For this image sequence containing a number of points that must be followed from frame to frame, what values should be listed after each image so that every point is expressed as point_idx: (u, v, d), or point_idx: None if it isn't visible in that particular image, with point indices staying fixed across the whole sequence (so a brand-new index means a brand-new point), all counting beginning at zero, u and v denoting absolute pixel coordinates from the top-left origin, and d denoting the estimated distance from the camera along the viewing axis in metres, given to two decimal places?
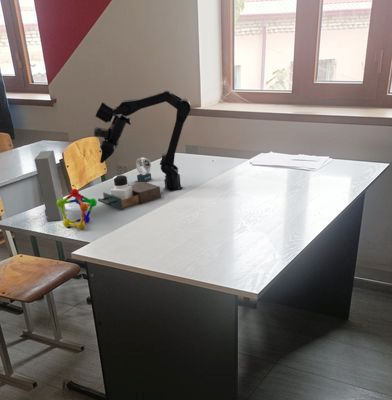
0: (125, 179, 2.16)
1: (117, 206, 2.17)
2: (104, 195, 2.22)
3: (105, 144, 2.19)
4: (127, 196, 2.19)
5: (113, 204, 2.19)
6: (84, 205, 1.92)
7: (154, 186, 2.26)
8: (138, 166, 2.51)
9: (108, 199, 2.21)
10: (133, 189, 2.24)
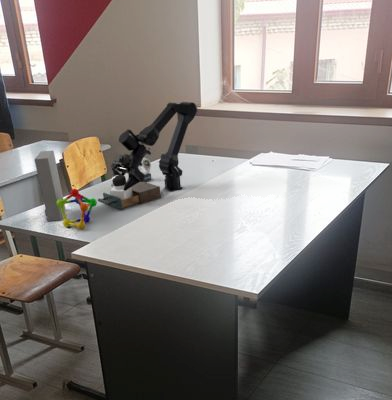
0: (123, 179, 2.15)
1: (116, 206, 2.17)
2: (104, 195, 2.22)
3: (139, 171, 2.12)
4: (126, 196, 2.18)
5: (113, 204, 2.19)
6: (84, 205, 1.92)
7: (154, 186, 2.26)
8: None
9: (108, 199, 2.21)
10: (133, 189, 2.24)
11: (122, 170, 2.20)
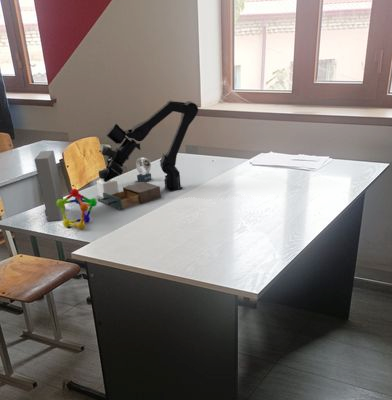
0: None
1: (116, 206, 2.17)
2: (104, 195, 2.22)
3: (115, 165, 2.19)
4: (106, 190, 2.29)
5: (113, 204, 2.19)
6: (84, 205, 1.92)
7: (154, 186, 2.26)
8: (138, 166, 2.51)
9: (108, 199, 2.20)
10: (133, 189, 2.24)
11: None
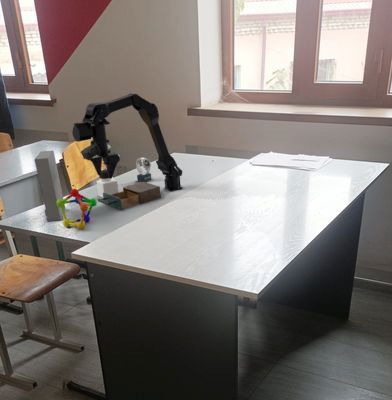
0: (107, 173, 2.26)
1: (116, 206, 2.17)
2: (104, 195, 2.22)
3: (111, 157, 2.01)
4: (107, 189, 2.29)
5: (113, 204, 2.19)
6: (84, 205, 1.92)
7: (154, 186, 2.26)
8: (138, 166, 2.51)
9: (108, 199, 2.20)
10: (133, 189, 2.24)
11: (96, 155, 2.10)
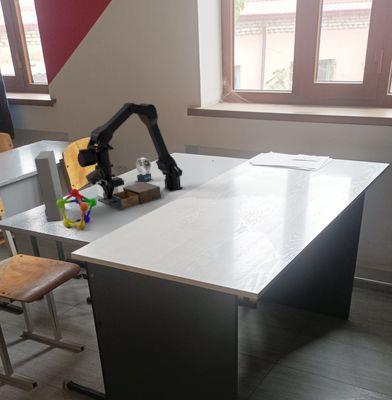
0: None
1: (117, 206, 2.17)
2: (104, 195, 2.22)
3: (115, 181, 2.06)
4: None
5: (113, 204, 2.19)
6: (84, 205, 1.92)
7: (154, 186, 2.26)
8: (138, 166, 2.51)
9: None
10: (133, 189, 2.24)
11: None
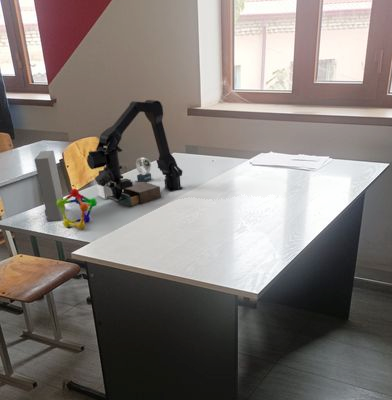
0: None
1: (126, 203, 2.20)
2: None
3: (124, 183, 2.09)
4: (107, 189, 2.29)
5: (122, 201, 2.21)
6: (84, 205, 1.92)
7: (154, 186, 2.26)
8: (138, 166, 2.51)
9: None
10: (133, 189, 2.24)
11: None
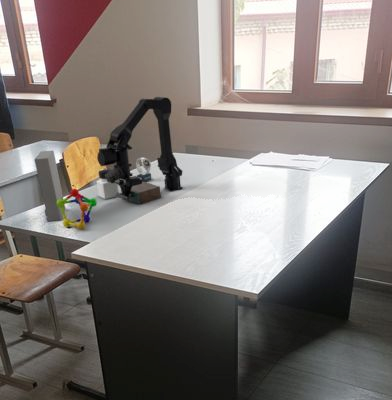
0: None
1: (134, 201, 2.22)
2: None
3: (133, 180, 2.12)
4: (107, 189, 2.29)
5: (131, 199, 2.24)
6: (84, 205, 1.92)
7: (154, 186, 2.26)
8: (138, 166, 2.51)
9: None
10: (133, 189, 2.24)
11: None
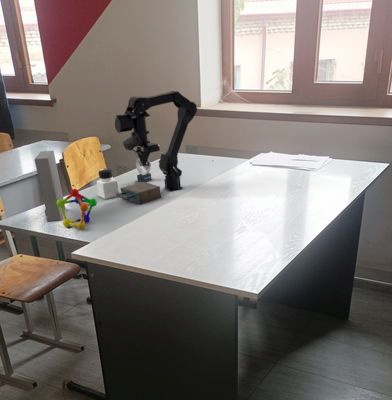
0: (107, 173, 2.26)
1: (134, 201, 2.22)
2: (122, 190, 2.27)
3: (151, 147, 2.14)
4: (107, 189, 2.29)
5: (131, 199, 2.24)
6: (84, 205, 1.92)
7: (154, 186, 2.26)
8: (138, 166, 2.51)
9: (126, 194, 2.25)
10: (133, 189, 2.24)
11: None
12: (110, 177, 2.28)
